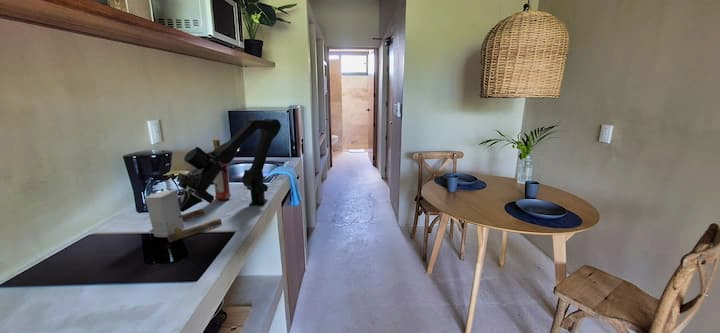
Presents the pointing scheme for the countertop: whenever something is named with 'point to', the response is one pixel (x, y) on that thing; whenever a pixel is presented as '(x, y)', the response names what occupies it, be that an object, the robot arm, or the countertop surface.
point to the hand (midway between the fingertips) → (180, 211)
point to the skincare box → (164, 213)
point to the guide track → (193, 230)
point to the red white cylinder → (221, 179)
